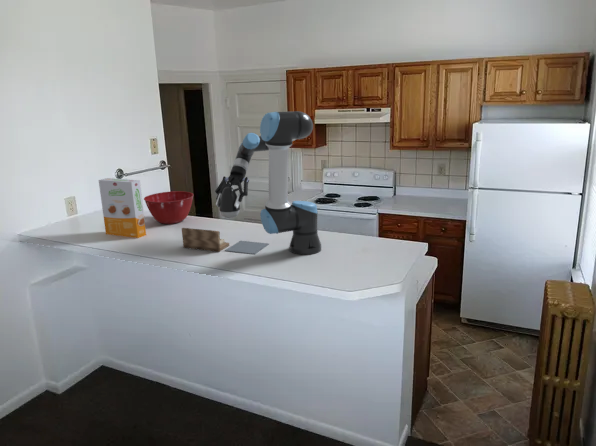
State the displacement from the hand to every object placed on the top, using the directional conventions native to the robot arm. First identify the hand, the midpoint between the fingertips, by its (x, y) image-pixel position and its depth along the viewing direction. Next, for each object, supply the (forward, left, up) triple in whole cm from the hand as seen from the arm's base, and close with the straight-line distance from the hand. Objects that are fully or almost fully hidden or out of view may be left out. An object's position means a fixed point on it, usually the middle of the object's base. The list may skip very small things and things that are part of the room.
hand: (226, 206), depth 226 cm
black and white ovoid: (0, -3, -6) cm, 7 cm away
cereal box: (+63, +1, -20) cm, 66 cm away
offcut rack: (+9, +6, -20) cm, 23 cm away
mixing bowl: (+56, -30, -20) cm, 67 cm away
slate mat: (-11, +1, -20) cm, 23 cm away
